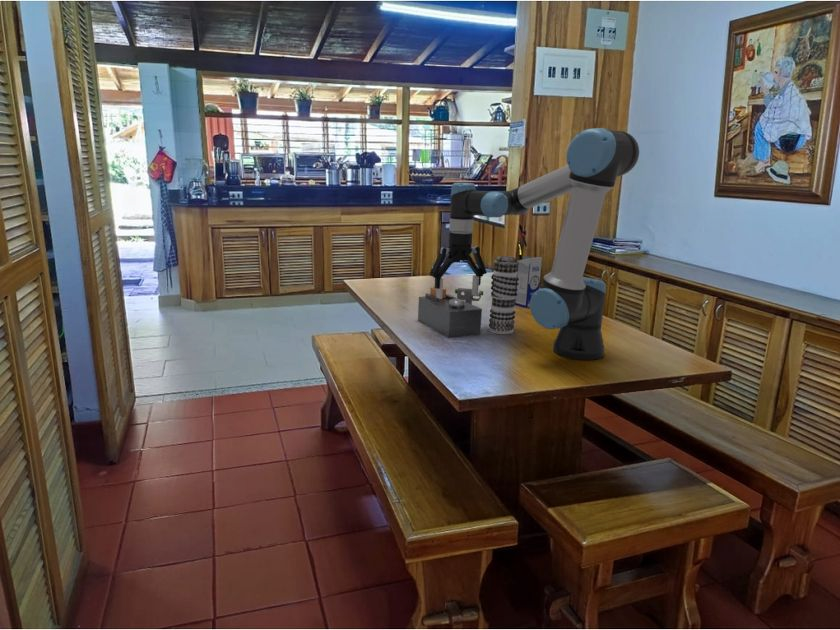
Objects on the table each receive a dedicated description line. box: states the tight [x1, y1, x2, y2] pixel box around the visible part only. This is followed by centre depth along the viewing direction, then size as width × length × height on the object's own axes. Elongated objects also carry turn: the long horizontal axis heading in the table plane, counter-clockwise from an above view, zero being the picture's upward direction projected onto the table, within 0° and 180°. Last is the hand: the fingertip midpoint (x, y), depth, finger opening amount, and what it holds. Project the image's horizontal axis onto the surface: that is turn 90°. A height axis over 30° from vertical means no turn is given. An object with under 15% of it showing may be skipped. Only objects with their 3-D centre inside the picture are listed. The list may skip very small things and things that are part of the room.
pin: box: [449, 299, 465, 308], centre depth 194 cm, size 5×5×10 cm
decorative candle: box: [488, 255, 519, 335], centre depth 194 cm, size 9×9×25 cm
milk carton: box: [514, 255, 543, 309], centre depth 231 cm, size 7×7×20 cm
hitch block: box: [417, 293, 483, 339], centre depth 198 cm, size 22×12×10 cm, turn 27°
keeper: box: [429, 286, 447, 298], centre depth 204 cm, size 4×4×4 cm
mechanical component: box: [454, 287, 484, 305], centre depth 213 cm, size 3×10×10 cm, turn 78°
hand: (457, 296), depth 192 cm, fingers open, 13 cm apart
